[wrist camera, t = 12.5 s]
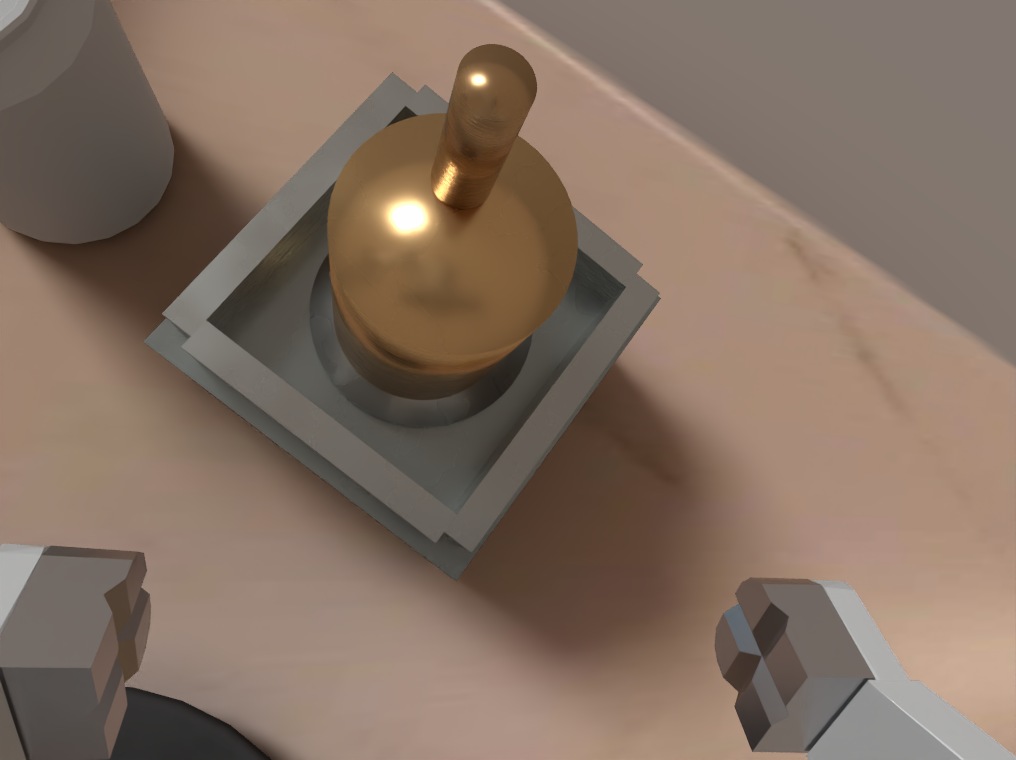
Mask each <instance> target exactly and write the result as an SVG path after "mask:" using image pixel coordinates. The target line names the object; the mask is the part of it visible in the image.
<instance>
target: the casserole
mask: <svg viewBox="0 0 1016 760" xmlns="http://www.w3.org/2000/svg"><path fill="white" fill-rule="evenodd" d="M125 690H126V697H127V704H128V705H127V708H126V711H125V714H124V717H123V720H122V723H121V726H120V729H119V732H118V735H117V738H116V741H115V744H114V747H113V750H112V753H111V756H110V759H100V760H271V759H270V758H269V757H268V756H267V755H266V754H264V753H263V752H262V751H261V750H259V749H258V748H257V747H256V746H255V745H253V744H252V743H251V742H250V741H249V740H247V739H246V738H245V737H244V736H243V735H241V734H240V733H239V732H238V731H237V730H235V729H234V728H233V727H232V726H231V725H229V724H227V723H225V722H223V721H221V720H219V719H217V718H215V717H213V716H211V715H209V714H207V713H205V712H203V711H201V710H199V709H197V708H195V707H193V706H191V705H189V704H187V703H185V702H183V701H180V700H177V699H173V698H169V697H166V696H162V695H159V694H155V693H151V692H148V691H144V690H140V689H137V688H133V687H125Z"/></svg>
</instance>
